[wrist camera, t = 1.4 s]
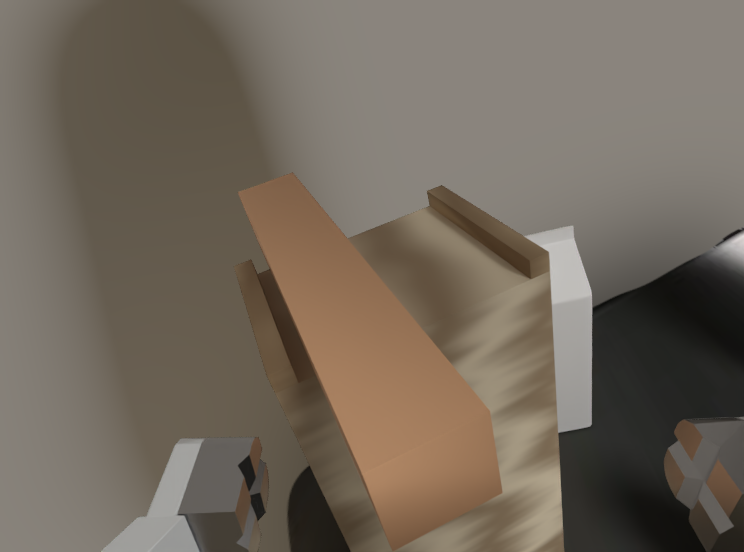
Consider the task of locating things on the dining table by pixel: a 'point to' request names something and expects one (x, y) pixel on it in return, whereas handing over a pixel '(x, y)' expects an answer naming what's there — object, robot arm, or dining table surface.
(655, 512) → the dining table surface
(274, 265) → the bar
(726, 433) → the robot arm
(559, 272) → the milk carton
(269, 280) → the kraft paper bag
